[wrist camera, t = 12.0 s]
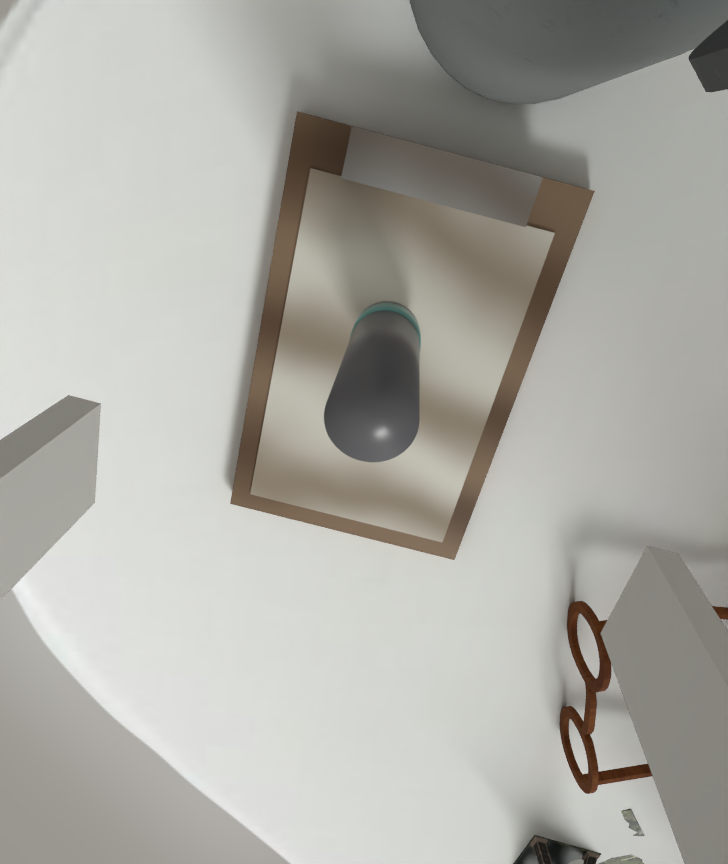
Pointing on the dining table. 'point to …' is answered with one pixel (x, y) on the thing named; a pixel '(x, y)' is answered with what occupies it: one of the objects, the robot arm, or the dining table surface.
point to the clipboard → (431, 305)
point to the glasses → (595, 705)
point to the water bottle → (569, 42)
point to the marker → (377, 386)
